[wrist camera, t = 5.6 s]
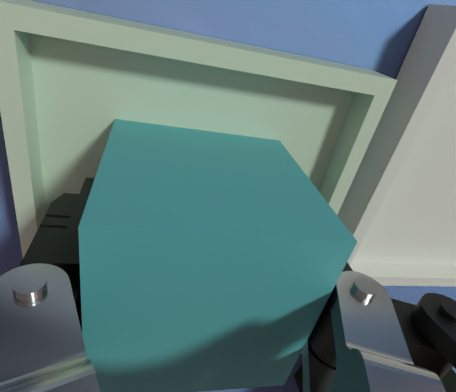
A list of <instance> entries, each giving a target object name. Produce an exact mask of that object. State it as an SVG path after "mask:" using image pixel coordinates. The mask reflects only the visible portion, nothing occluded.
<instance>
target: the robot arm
mask: <svg viewBox="0 0 456 392" xmlns="http://www.w3.org/2000/svg"><path fill="white" fill-rule="evenodd" d="M94 179H95V178H85V181H84V183H83V186H82V188H81V191H80V193H79V194H73V193H64V194H62V195H61V196H59V197H58V198H57V199H55V200H54V201H53V202H51V204H50V206H49V208H48V210H47V212H46V214H45V217H44V218H43V220H42V222H41V224H40V227H39V228H38V230H37V232H36V234H35V236H34V238H33V240H32V242H31V244H30V246H29V248H28V250H27V252H26V254H25V256H24V258H23V260H22V262H21V264H20V266H19V267H17V268H14V269H12V270H10V271H8V272H6V273H5V274H3V275H2V276H0V392H100V388H99V384H98V380H97V376H96V372H95V368H94V365H93V363H92V361H91V360H88V357H87V353H86V349H85V345H84V340H83V336H82V313H81V287H80V261H79V235H78V227H79V224H80V221H81V218H82V215H83V212H84V209H85V206H86V203H87V200H88V197H89V194H90V191H91V188H92V185H93V182H94ZM302 366H303V392H452V391H451V390H450V389H449V388H448V387H447V386H446V385H445V384H444V383H443V382H442V380H441V379H442V378H443V377H444V376H445V375H446V373H447V372H448V371H449V370H450V369H451V368H452V367H453V366H454V367H455V368H456V301H455V300H453V299H451V298H449V297H446V296H444V295H441V294H436V293H427V294H425V295H424V296H423V297H422V298H421V299H420V301H419V302H418V304H417V305H413V304H409V303H406V302H402V301H399V300H395V299H391V298H390V296H389V294H388V292H387V291H386V290H385V288H384V287H383V286H382V285H381V284H380V283H378V282H377V281H376V280H374V279H373V278H371V277H369V276H367V275H365V274H363V273H359V272H355V271H353V270H352V268H351V267H350V265H349V264H348V262H347V263H346V265H345V267H344V269H343V271H342V273H341V275H340V277H339V279H338V281H337V283H336V285H335V287H334V289H333V291H332V293H331V295H330V297H329V298H328V300H327V302H326V304H325V306H324V308H323V310H322V312H321V314H320V316H319V318H318V320H317V322H316V324H315V326H314V328H313V330H312V332H311V334H310V336H309V338H308V340H307V342H306V344H305V346H304V347H303V349H302Z"/></svg>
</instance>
